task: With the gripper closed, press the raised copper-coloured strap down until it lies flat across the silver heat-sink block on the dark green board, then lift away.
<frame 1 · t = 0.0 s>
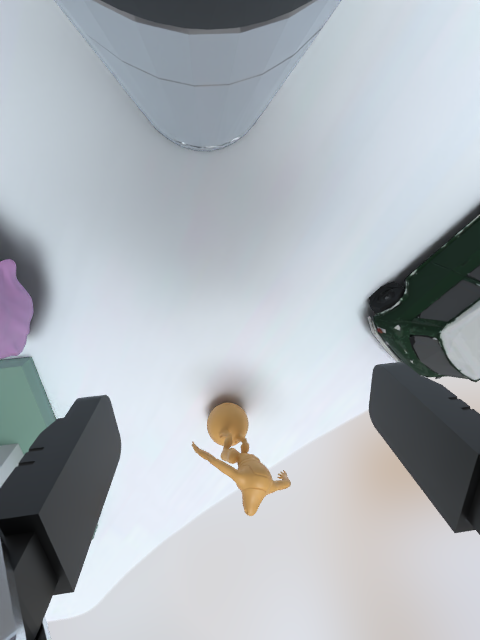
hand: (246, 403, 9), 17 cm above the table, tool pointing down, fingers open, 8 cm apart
miniature car: (451, 276, 28), on the table
figurine: (230, 401, 30), on the table
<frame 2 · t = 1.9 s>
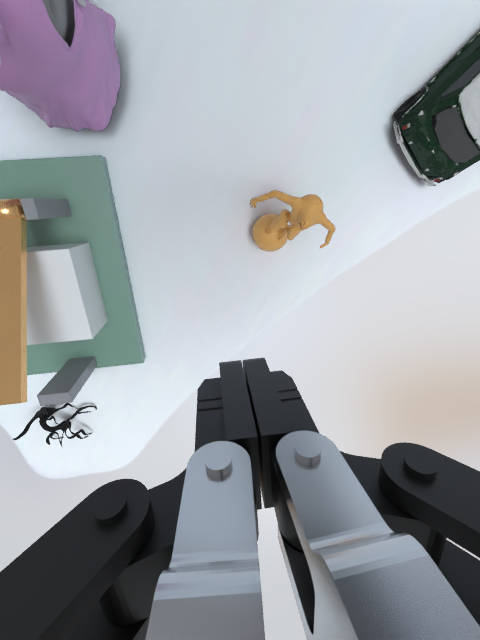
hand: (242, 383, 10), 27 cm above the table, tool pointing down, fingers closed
miniature car: (464, 98, 32), on the table
toy character: (76, 67, 28), on the table
strap: (4, 297, 24), point 11 cm above the table, hinge at 30.0°
creature: (71, 415, 41), on the table
figurine: (271, 223, 35), on the table
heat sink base: (65, 274, 34), on the table
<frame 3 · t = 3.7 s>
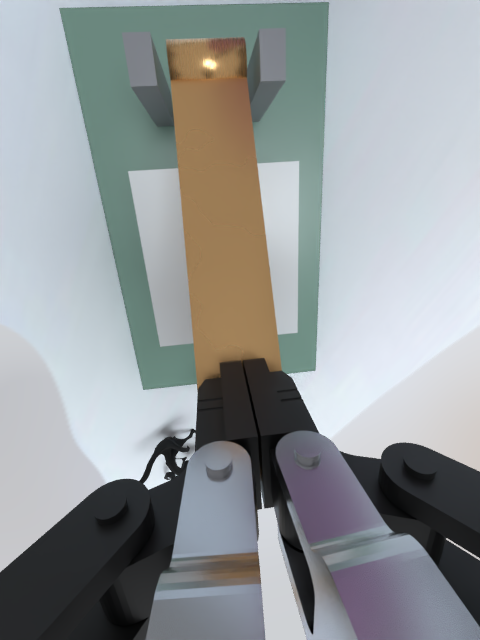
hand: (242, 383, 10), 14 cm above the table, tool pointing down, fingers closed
strap: (225, 243, 11), point 11 cm above the table, hinge at 28.4°, touching gripper
creature: (192, 446, 29), on the table
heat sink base: (217, 231, 21), on the table
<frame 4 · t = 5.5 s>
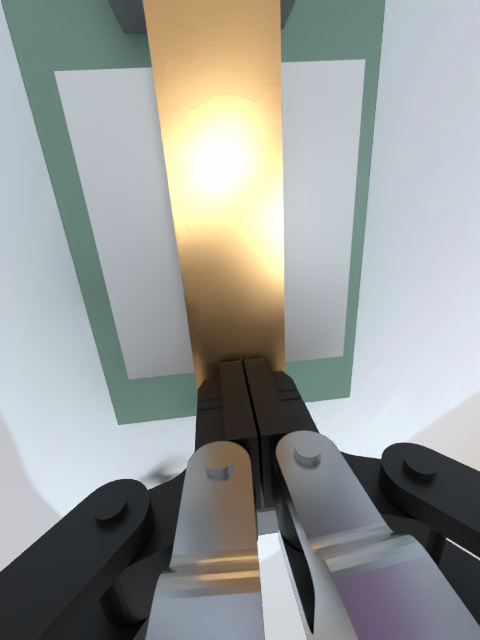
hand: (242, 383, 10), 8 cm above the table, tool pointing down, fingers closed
strap: (229, 227, 9), point 7 cm above the table, hinge at 1.1°, touching gripper
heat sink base: (218, 206, 15), on the table
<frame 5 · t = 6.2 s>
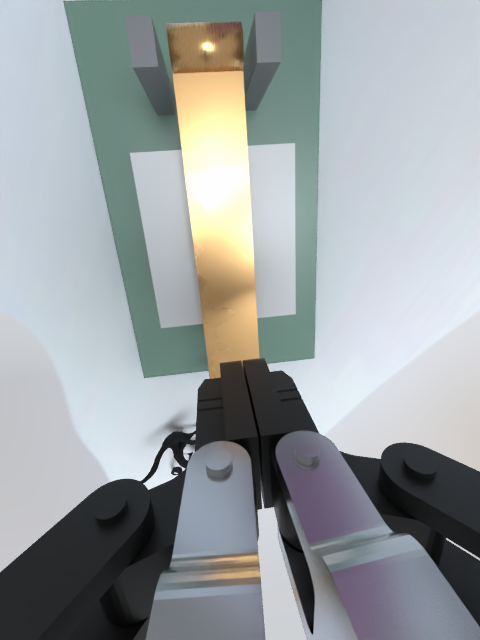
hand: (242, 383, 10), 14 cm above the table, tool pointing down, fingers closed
strap: (222, 233, 15), point 7 cm above the table, hinge at 1.1°
creature: (198, 441, 29), on the table
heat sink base: (216, 219, 22), on the table
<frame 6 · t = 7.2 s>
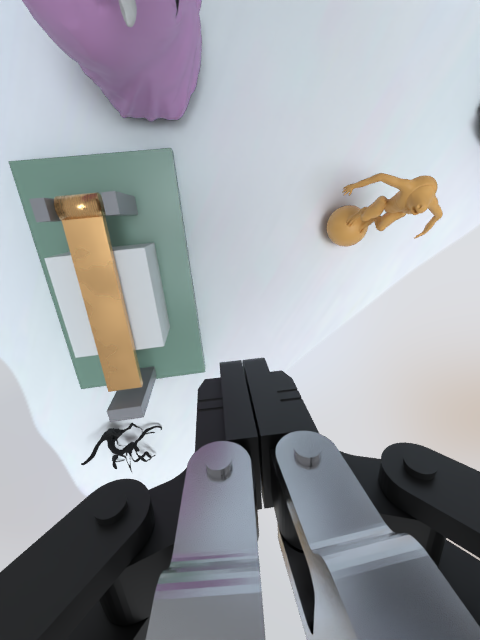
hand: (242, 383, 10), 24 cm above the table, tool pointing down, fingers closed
toy character: (146, 55, 26), on the table
strap: (104, 301, 25), point 7 cm above the table, hinge at 1.1°
creature: (133, 436, 39), on the table
figurine: (342, 216, 32), on the table
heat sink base: (124, 279, 32), on the table
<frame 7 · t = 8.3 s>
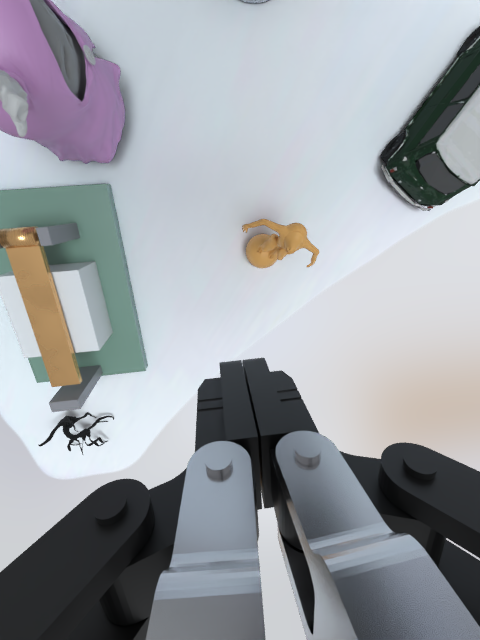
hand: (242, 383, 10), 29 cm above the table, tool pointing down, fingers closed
miniature car: (444, 126, 35), on the table
toy character: (84, 105, 31), on the table
strap: (45, 313, 30), point 7 cm above the table, hinge at 1.1°
creature: (89, 423, 44), on the table
figurine: (263, 241, 37), on the table
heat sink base: (73, 290, 37), on the table
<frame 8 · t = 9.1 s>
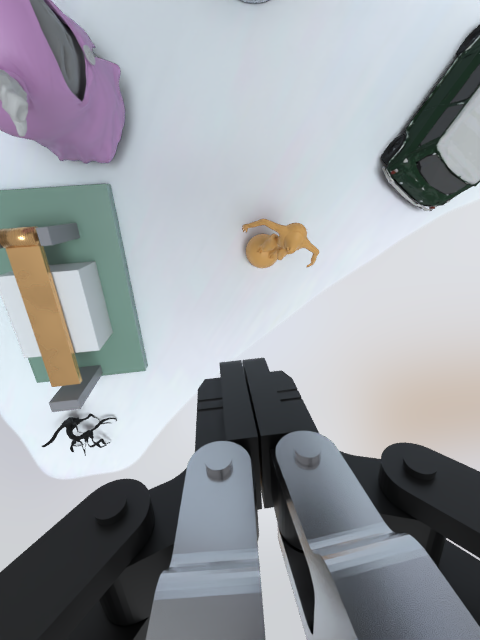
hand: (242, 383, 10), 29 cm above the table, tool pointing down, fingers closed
miniature car: (444, 126, 35), on the table
toy character: (84, 105, 31), on the table
strap: (45, 313, 30), point 7 cm above the table, hinge at 1.1°
creature: (92, 425, 45), on the table
figurine: (263, 241, 37), on the table
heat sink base: (73, 290, 37), on the table
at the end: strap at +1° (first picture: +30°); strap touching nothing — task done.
